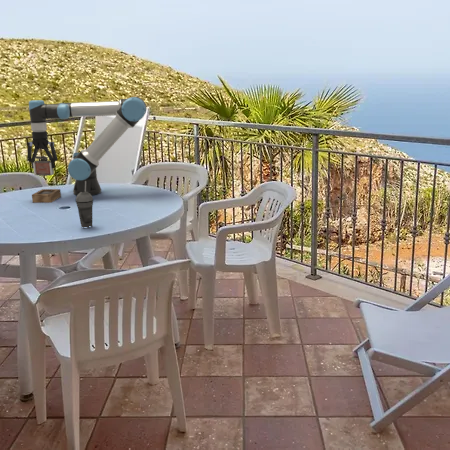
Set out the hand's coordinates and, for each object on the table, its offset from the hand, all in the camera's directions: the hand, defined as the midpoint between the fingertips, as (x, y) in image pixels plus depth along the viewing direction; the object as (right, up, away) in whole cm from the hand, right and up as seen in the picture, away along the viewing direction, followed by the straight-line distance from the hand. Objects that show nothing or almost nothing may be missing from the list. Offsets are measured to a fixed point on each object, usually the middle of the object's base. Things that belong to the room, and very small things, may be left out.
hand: (44, 174), depth 268 cm
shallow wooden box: (0, -13, +4) cm, 14 cm away
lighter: (0, 0, 0) cm, 0 cm away
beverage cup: (+36, -28, -49) cm, 67 cm away
